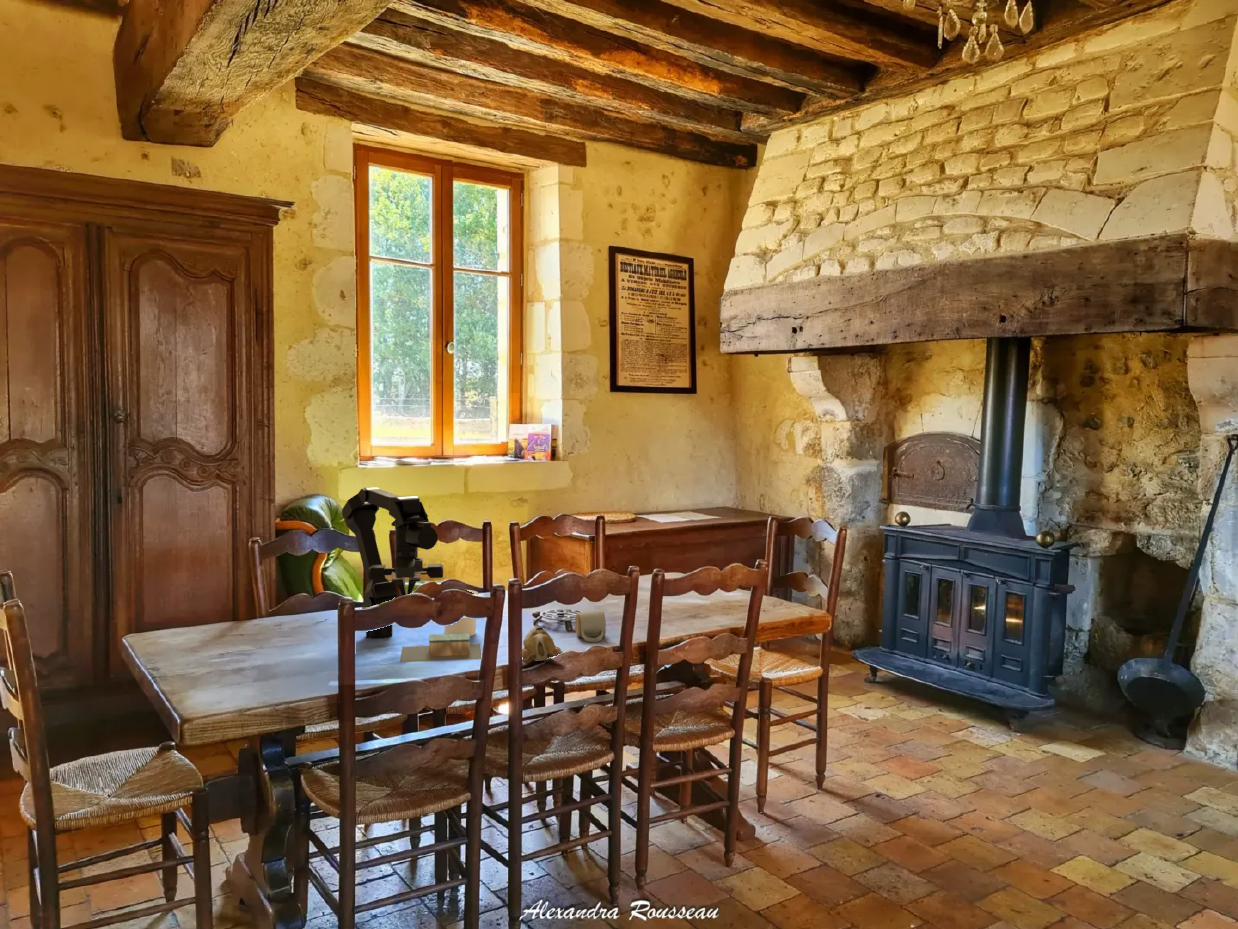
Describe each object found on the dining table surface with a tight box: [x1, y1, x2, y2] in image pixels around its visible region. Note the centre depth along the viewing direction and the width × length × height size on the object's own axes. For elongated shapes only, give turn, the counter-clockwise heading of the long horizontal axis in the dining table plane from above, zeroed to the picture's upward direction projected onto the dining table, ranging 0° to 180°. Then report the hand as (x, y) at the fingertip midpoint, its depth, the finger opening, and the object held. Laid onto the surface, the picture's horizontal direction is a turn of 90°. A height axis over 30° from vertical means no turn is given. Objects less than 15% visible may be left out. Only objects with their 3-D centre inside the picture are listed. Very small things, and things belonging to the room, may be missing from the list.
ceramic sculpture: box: [521, 624, 563, 664], centre depth 226 cm, size 11×9×15 cm
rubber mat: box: [399, 643, 482, 663], centre depth 229 cm, size 20×14×1 cm
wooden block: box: [428, 633, 471, 656], centre depth 229 cm, size 4×6×10 cm
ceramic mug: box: [574, 609, 607, 643], centre depth 248 cm, size 10×8×7 cm
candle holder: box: [443, 589, 479, 637], centre depth 248 cm, size 10×10×12 cm
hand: (406, 604), depth 233 cm, fingers closed
